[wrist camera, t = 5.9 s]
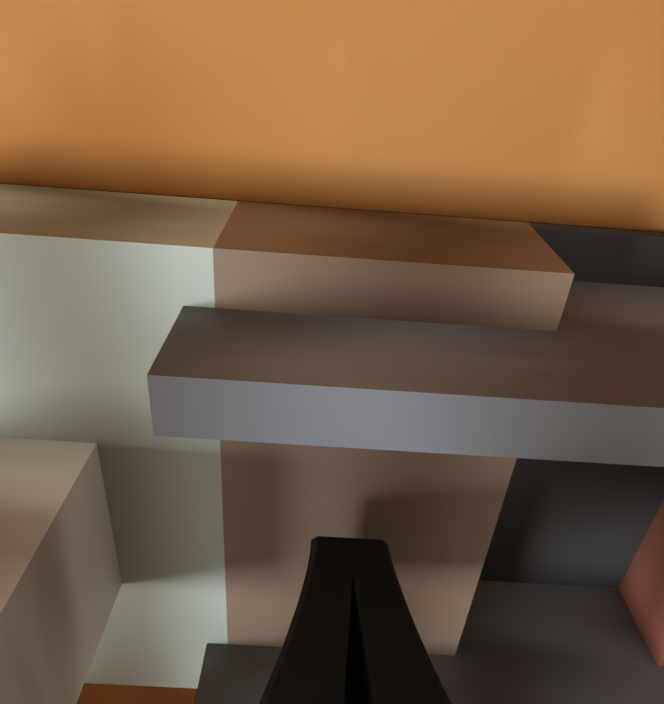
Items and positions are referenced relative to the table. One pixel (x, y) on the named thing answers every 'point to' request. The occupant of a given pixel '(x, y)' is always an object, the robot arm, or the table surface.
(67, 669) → the cream block
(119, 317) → the tunnel deck
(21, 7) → the table surface
